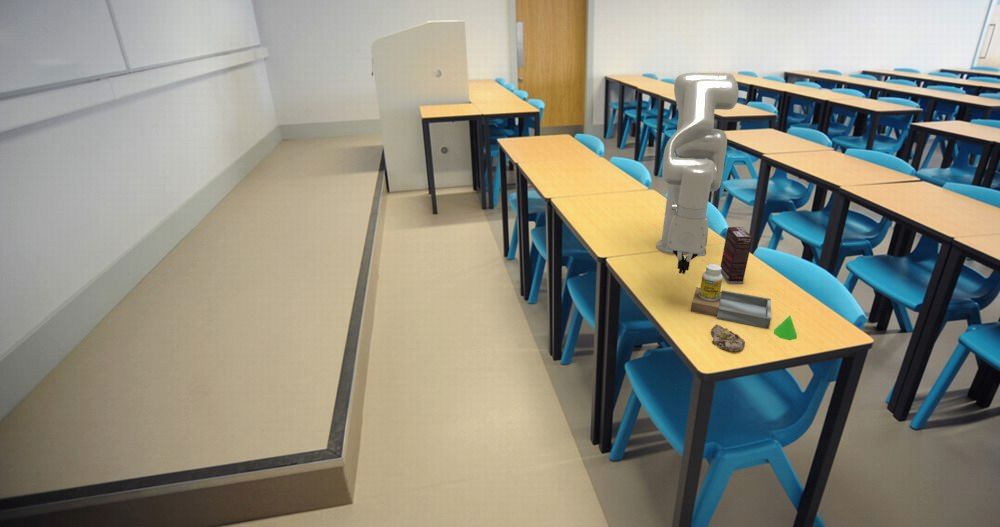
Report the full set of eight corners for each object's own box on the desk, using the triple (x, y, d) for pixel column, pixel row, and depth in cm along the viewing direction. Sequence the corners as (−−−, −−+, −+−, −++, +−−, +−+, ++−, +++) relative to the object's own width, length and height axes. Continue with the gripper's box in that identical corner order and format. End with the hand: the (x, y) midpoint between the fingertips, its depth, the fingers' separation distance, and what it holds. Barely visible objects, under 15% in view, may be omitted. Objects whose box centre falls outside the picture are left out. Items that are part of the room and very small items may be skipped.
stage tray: (695, 294, 157) (696, 285, 156) (768, 307, 150) (770, 298, 148) (690, 313, 148) (691, 304, 146) (768, 328, 140) (770, 319, 139)
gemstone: (778, 326, 141) (783, 306, 139) (802, 335, 137) (807, 315, 135) (768, 334, 138) (773, 314, 135) (791, 343, 134) (797, 323, 131)
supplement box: (743, 284, 163) (753, 237, 156) (727, 284, 163) (737, 237, 156) (733, 271, 171) (742, 226, 164) (718, 271, 171) (726, 226, 164)
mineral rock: (756, 343, 130) (729, 339, 128) (749, 358, 132) (722, 354, 130) (731, 322, 140) (705, 318, 138) (725, 336, 141) (699, 332, 139)
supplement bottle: (718, 293, 151) (723, 264, 147) (719, 302, 147) (725, 272, 143) (698, 291, 153) (703, 261, 149) (699, 300, 148) (704, 269, 144)
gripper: (661, 211, 142) (653, 272, 150) (719, 219, 136) (708, 282, 144) (665, 203, 148) (658, 262, 156) (722, 210, 142) (711, 271, 150)
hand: (682, 271), depth 150 cm, fingers closed
